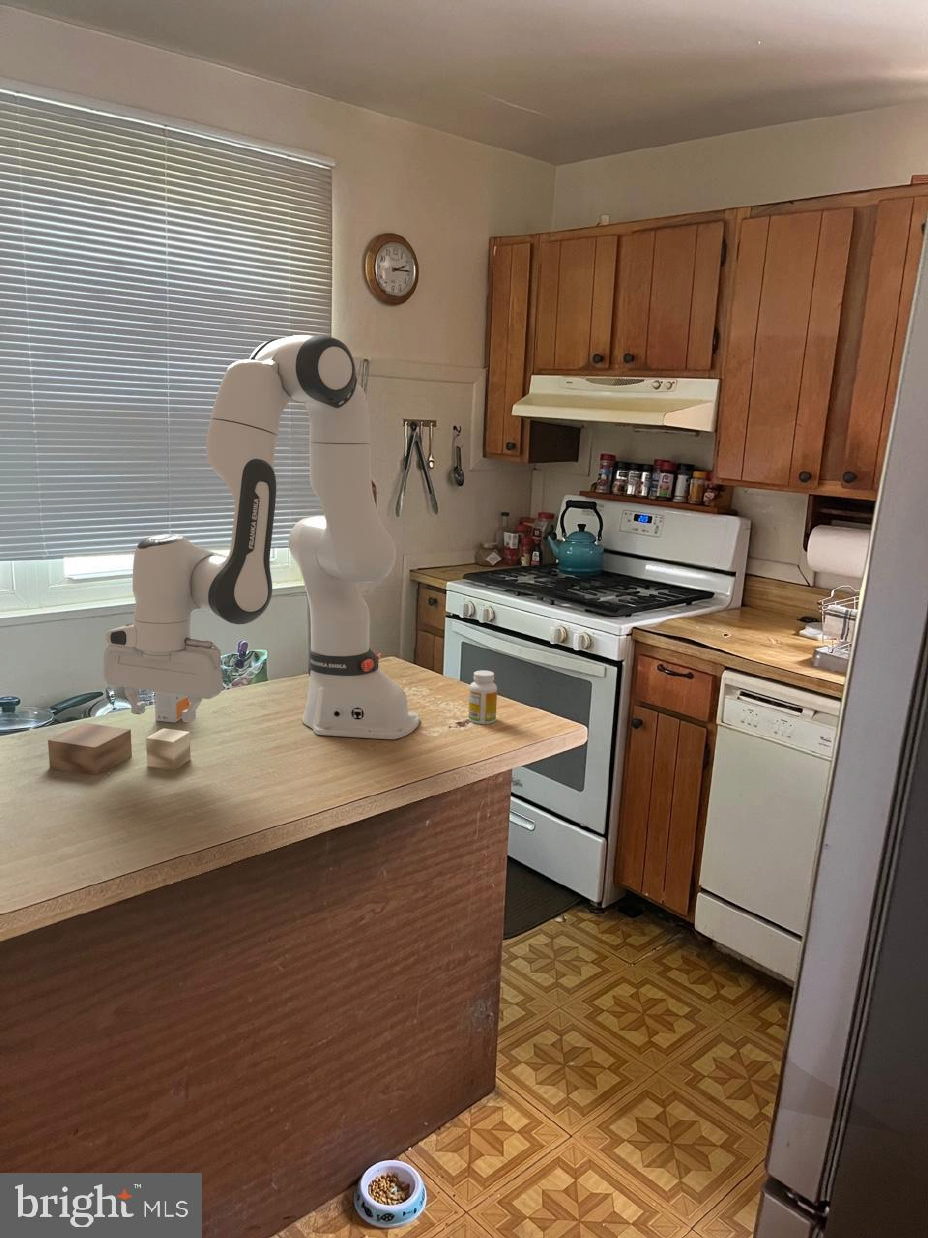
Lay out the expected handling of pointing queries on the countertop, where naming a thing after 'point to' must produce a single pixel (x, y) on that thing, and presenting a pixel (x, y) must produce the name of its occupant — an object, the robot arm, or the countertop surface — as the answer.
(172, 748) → the birch cube
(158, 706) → the skincare box
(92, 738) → the walnut block
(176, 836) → the countertop surface
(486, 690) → the supplement bottle
